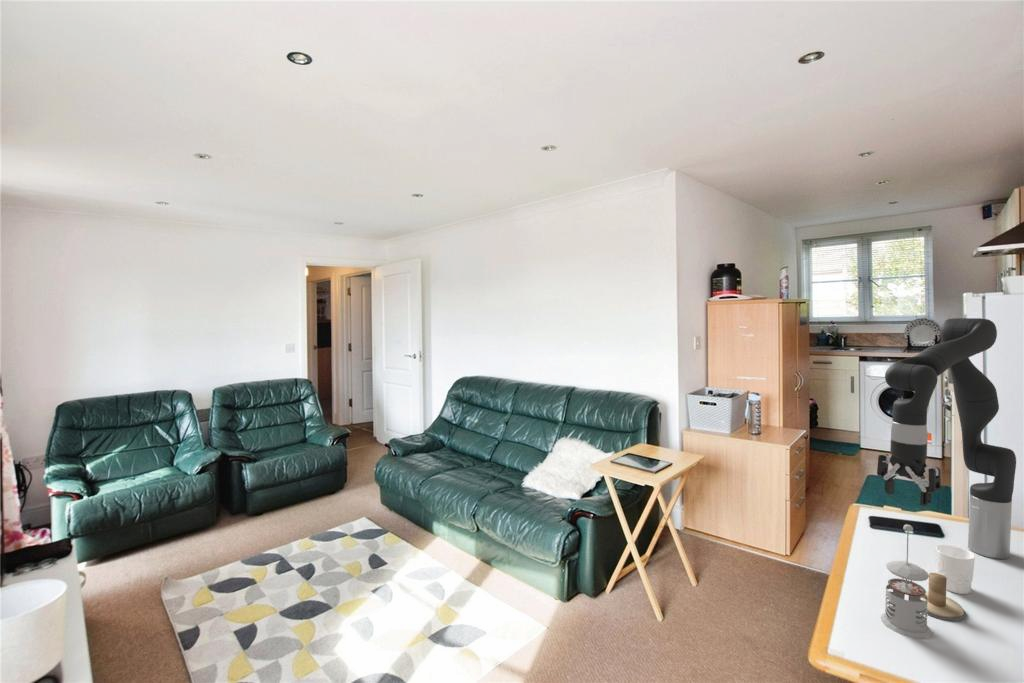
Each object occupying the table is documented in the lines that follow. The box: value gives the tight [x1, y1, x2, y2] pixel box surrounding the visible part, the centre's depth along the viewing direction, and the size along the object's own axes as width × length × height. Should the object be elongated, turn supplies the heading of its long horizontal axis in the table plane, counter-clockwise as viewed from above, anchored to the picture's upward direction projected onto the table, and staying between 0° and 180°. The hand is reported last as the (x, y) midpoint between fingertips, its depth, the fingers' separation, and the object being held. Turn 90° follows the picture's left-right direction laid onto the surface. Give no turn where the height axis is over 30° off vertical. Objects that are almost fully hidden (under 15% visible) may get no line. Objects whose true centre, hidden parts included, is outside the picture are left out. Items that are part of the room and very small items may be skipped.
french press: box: [879, 523, 933, 639], centre depth 119 cm, size 10×12×25 cm
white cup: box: [935, 544, 976, 595], centre depth 134 cm, size 8×8×10 cm
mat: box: [923, 608, 967, 622], centre depth 126 cm, size 11×11×1 cm
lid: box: [921, 572, 965, 618], centre depth 125 cm, size 10×10×8 cm
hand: (906, 499), depth 131 cm, fingers open, 8 cm apart
